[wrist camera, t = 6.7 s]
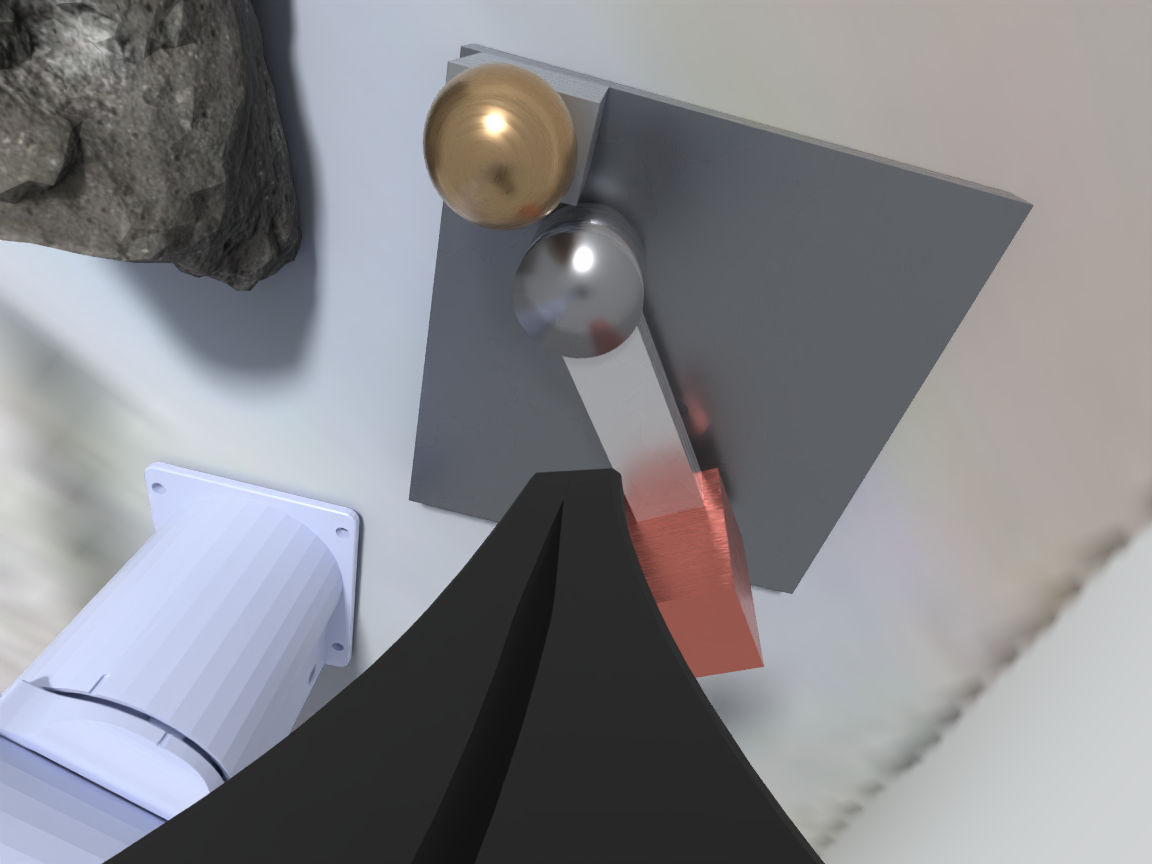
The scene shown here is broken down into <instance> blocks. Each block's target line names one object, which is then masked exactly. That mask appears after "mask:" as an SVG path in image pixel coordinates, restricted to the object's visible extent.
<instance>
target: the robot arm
mask: <svg viewBox="0 0 1152 864" xmlns="http://www.w3.org/2000/svg"><path fill="white" fill-rule="evenodd" d="M144 475H145V480H146V486H147V491H148V497H149V502H150V508H151V513H152V519H153V524H154V530H155V533H154V534H153V535H152V536H151V537H150V539H149V540H148V541H147V542H146V543H145V544H144V545H143V546H142V547H141V548H140V549H139V550H138V551H137V552H136V553H135V554H134V555H133V557H132V558H131V559H130V560H129V561H128V562H127V563H126V564H125V565H124V566H123V567H122V568H121V569H120V570H119V571H118V572H117V573H116V575H115V576H114V577H113V578H112V579H111V580H110V581H109V582H108V583H107V584H106V585H105V586H104V587H103V588H102V589H101V590H100V591H99V593H98V594H97V595H96V596H95V597H94V598H93V599H92V600H91V601H90V602H89V603H88V604H87V605H86V606H85V607H84V608H83V609H82V611H81V612H80V613H79V614H78V615H77V616H76V617H75V618H74V619H73V620H72V621H71V622H70V623H69V624H68V625H67V626H66V627H65V629H64V630H63V631H62V632H61V633H60V634H59V635H58V636H57V637H56V638H55V639H54V640H53V641H52V642H51V643H50V644H49V645H48V647H47V648H46V649H45V650H44V651H43V652H42V653H41V654H40V655H39V656H38V657H37V658H36V659H35V660H34V661H33V662H32V663H31V664H30V666H29V667H28V668H27V669H26V670H25V671H24V672H23V673H22V674H21V675H20V676H19V677H18V678H17V679H16V680H15V681H14V682H13V684H12V685H11V686H10V687H9V688H8V689H6V690H5V691H4V692H3V693H2V694H1V695H0V864H825V863H824V862H823V861H822V860H821V858H820V857H819V856H818V855H817V853H816V852H815V851H814V849H813V848H812V847H811V846H810V844H809V843H808V842H807V840H806V839H805V838H804V836H803V835H802V834H801V833H800V831H799V830H798V829H797V827H796V826H795V825H794V823H793V822H792V821H791V819H790V818H789V817H788V816H787V814H786V813H785V812H784V810H783V809H782V807H781V806H780V805H779V803H778V802H777V800H776V799H775V798H774V796H773V795H772V794H771V792H770V791H769V789H768V788H767V787H766V785H765V784H764V782H763V781H762V780H761V778H760V777H759V776H758V774H757V773H756V771H755V770H754V769H753V767H752V766H751V764H750V763H749V761H748V760H747V758H746V757H745V755H744V754H743V752H742V751H741V749H740V748H739V746H738V745H737V743H736V742H735V740H734V738H733V737H732V735H731V734H730V732H729V731H728V729H727V728H726V726H725V725H724V723H723V722H722V720H721V719H720V717H719V716H718V714H717V713H716V711H715V710H714V708H713V706H712V705H711V703H710V702H709V700H708V699H707V697H706V695H705V694H704V692H703V690H702V688H701V687H700V685H699V683H698V682H697V680H696V678H695V676H694V675H693V673H692V671H691V670H690V668H689V666H688V664H687V663H686V661H685V659H684V657H683V655H682V653H681V651H680V650H679V648H678V646H677V644H676V642H675V640H674V638H673V637H672V635H671V633H670V631H669V629H668V627H667V625H666V623H665V621H664V618H663V616H662V614H661V612H660V610H659V608H658V606H657V603H656V601H655V599H654V597H653V594H652V592H651V590H650V588H649V586H648V583H647V581H646V578H645V576H644V573H643V571H642V568H641V566H640V563H639V560H638V557H637V554H636V551H635V549H634V546H633V543H632V540H631V537H630V534H629V531H628V524H627V516H626V508H625V500H624V493H623V485H622V477H621V474H620V473H619V472H618V471H616V470H615V469H614V468H607V469H590V470H573V471H555V472H538V473H535V474H534V475H533V476H532V477H531V478H530V480H529V481H528V483H527V484H526V485H525V487H524V488H523V489H522V491H521V492H520V494H519V495H518V496H517V498H516V499H515V501H514V502H513V504H512V505H511V506H510V508H509V509H508V510H507V512H506V513H505V515H504V516H503V517H502V519H501V520H500V521H499V523H498V524H497V525H496V527H495V528H494V529H493V531H492V532H491V533H490V535H489V536H488V537H487V538H486V540H485V541H484V542H483V544H482V545H481V546H480V547H479V549H478V550H477V551H476V552H475V554H474V555H473V556H472V558H471V559H470V560H469V561H468V563H467V564H466V565H465V566H464V568H463V569H462V570H461V571H460V572H459V574H458V575H457V576H456V577H455V578H454V579H453V580H452V582H451V583H450V584H449V585H448V586H447V587H446V588H445V590H444V591H443V592H442V593H441V594H440V595H439V596H438V598H437V599H436V600H435V601H434V602H433V603H432V604H431V606H430V607H429V608H428V609H427V610H426V611H425V612H424V613H423V614H422V616H421V617H420V618H419V619H418V620H417V621H416V622H415V623H414V624H413V625H412V626H411V627H410V628H409V629H408V630H407V631H406V632H405V633H404V634H403V635H402V636H401V637H400V638H399V639H398V640H397V641H396V642H395V643H394V644H393V645H392V646H391V647H390V648H389V649H388V650H387V651H386V652H385V653H384V654H383V655H382V656H381V657H380V658H379V659H378V660H377V661H376V662H375V663H374V664H372V665H371V666H370V667H369V668H368V669H367V670H366V671H365V672H364V673H363V674H361V675H360V676H359V677H358V678H357V679H356V680H354V681H353V682H352V683H351V684H350V685H348V686H347V687H346V688H345V689H344V690H343V691H341V692H340V693H339V694H338V695H337V696H335V697H334V698H333V699H332V700H331V701H330V702H328V703H327V704H326V705H325V706H324V707H322V708H321V709H320V710H319V711H318V712H317V713H315V714H314V715H313V716H312V717H311V718H309V719H308V720H307V721H306V722H305V723H303V724H302V725H301V726H300V727H298V728H297V729H296V730H295V731H293V732H292V733H291V734H290V732H291V730H292V728H293V726H294V724H295V722H296V720H297V718H298V716H299V714H300V712H301V710H302V708H303V706H304V704H305V702H306V700H307V698H308V696H309V694H310V692H311V690H312V688H313V686H314V684H315V682H316V680H317V678H318V676H319V674H320V672H321V670H322V668H323V666H324V664H327V665H332V666H336V667H345V666H347V665H348V663H349V661H350V659H351V653H352V637H353V620H354V603H355V587H356V570H357V554H358V537H359V516H358V515H357V513H356V512H355V511H353V510H352V509H349V508H346V507H342V506H338V505H334V504H330V503H326V502H322V501H318V500H314V499H309V498H305V497H301V496H297V495H293V494H289V493H285V492H281V491H277V490H272V489H268V488H264V487H260V486H256V485H252V484H248V483H244V482H240V481H236V480H231V479H227V478H223V477H219V476H215V475H211V474H207V473H203V472H199V471H194V470H190V469H186V468H182V467H178V466H174V465H170V464H166V463H162V462H154V463H152V464H151V465H150V466H149V467H148V468H147V469H146V470H145V473H144ZM342 528H344V529H346V530H347V531H345V530H343V529H342Z"/></svg>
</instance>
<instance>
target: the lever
mask: <svg viewBox="0 0 1152 864" xmlns="http://www.w3.org/2000/svg"><path fill="white" fill-rule="evenodd" d="M644 274H645V254H644V248H643V244H642V241H641V239H640V236H639V234H638V233H637V231H636V229H635V228H634V226H633V225H632V224H631V223H630V221H628V220H627V219H626V218H625V217H624V216H623V215H622V214H620V213H619V212H617V211H616V210H614V209H612V208H610V207H607V206H605V205H601V204H597V203H577V205H576V206H573V205H568V206H565V207H563V208H561V209H559V210H557V211H556V212H554V213H553V214H551V215H550V216H549V217H548V218H547V219H546V220H545V221H544V222H543V223H542V224H541V226H540V227H539V229H538V230H537V232H536V234H535V236H534V238H533V240H532V242H531V244H530V246H529V248H528V250H527V252H526V253H525V255H524V257H523V259H522V261H521V263H520V265H519V267H518V269H517V272H516V274H515V278H514V282H513V288H512V298H513V305H514V309H515V313H516V315H517V318H518V320H519V322H520V324H521V326H522V327H523V329H524V330H525V331H526V333H527V334H528V335H529V336H530V337H531V338H532V339H533V340H534V341H535V342H536V343H537V344H539V345H540V346H542V347H543V348H545V349H546V350H548V351H550V352H552V353H555V354H557V355H560V356H563V359H564V361H565V363H566V365H567V367H568V370H569V372H570V374H571V376H572V379H573V381H574V383H575V385H576V387H577V390H578V392H579V394H580V396H581V399H582V401H583V403H584V405H585V407H586V410H587V412H588V414H589V416H590V419H591V421H592V423H593V425H594V427H595V430H596V432H597V434H598V436H599V439H600V441H601V443H602V445H603V447H604V450H605V452H606V454H607V456H608V459H609V461H610V463H611V465H612V468H614V469H615V470H616V471H618V472H619V473H620V474H621V477H622V485H623V493H624V500H625V508H626V516H627V524H628V531H629V534H630V537H631V540H632V543H633V546H634V549H635V551H636V554H637V557H638V560H639V563H640V566H641V568H642V571H643V573H644V576H645V578H646V581H647V583H648V586H649V588H650V590H651V592H652V594H653V597H654V599H655V601H656V603H657V606H658V608H659V610H660V612H661V614H662V616H663V618H664V621H665V623H666V625H667V627H668V629H669V631H670V633H671V635H672V637H673V638H674V640H675V642H676V644H677V646H678V648H679V650H680V651H681V653H682V655H683V657H684V659H685V661H686V663H687V664H688V666H689V668H690V670H691V671H692V673H693V675H694V676H695V678H696V677H702V676H708V675H715V674H721V673H727V672H733V671H740V670H746V669H752V668H758V667H764V664H763V658H762V652H761V646H760V640H759V634H758V628H757V622H756V616H755V610H754V604H753V598H752V592H751V586H750V580H749V574H748V568H747V562H746V555H745V549H744V543H743V539H742V536H741V533H740V530H739V527H738V524H737V521H736V519H735V516H734V513H733V510H732V507H731V504H730V501H729V499H728V496H727V493H726V490H725V487H724V484H723V481H722V478H721V476H720V473H719V470H718V468H714V469H710V470H706V471H702V472H701V469H700V467H699V464H698V461H697V459H696V456H695V453H694V450H693V448H692V445H691V442H690V439H689V437H688V434H687V431H686V429H685V426H684V423H683V420H682V418H681V415H680V412H679V409H678V407H677V404H676V401H675V399H674V396H673V393H672V390H671V388H670V385H669V382H668V379H667V377H666V374H665V371H664V368H663V366H662V363H661V360H660V358H659V355H658V352H657V349H656V347H655V344H654V341H653V338H652V336H651V333H650V330H649V328H648V325H647V322H646V319H645V317H644V314H643V311H642V309H643V301H644Z"/></svg>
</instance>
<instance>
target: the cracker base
mask: <svg viewBox="0 0 1152 864" xmlns="http://www.w3.org/2000/svg"><path fill="white" fill-rule="evenodd" d="M423 151H424V159H425V163H426V168H427V171H428V174H429V177H430V179H431V181H432V183H433V186H434V187H435V189H436V191H437V192H438V194H439V195H440V197H441V198H442V199H443V208H442V217H441V225H440V234H439V243H438V251H437V260H436V269H435V277H434V286H433V295H432V303H431V312H430V321H429V329H428V338H427V347H426V355H425V364H424V373H423V381H422V390H421V399H420V408H419V416H418V425H417V434H416V442H415V451H414V460H413V468H412V477H411V486H410V494H409V500H411V501H415V502H419V503H423V504H427V505H431V506H435V507H439V508H443V509H447V510H451V511H455V512H459V513H464V514H468V515H472V516H476V517H480V518H484V519H488V520H492V521H496V522H499V521H500V520H501V519H502V517H503V516H504V515H505V513H506V512H507V510H508V509H509V508H510V506H511V505H512V504H513V502H514V501H515V499H516V498H517V496H518V495H519V494H520V492H521V491H522V489H523V488H524V487H525V485H526V484H527V483H528V481H529V480H530V478H531V477H532V476H533V475H534V474H535V473H538V472H555V471H573V470H590V469H607V468H612V465H611V463H610V461H609V459H608V456H607V454H606V452H605V450H604V447H603V445H602V443H601V441H600V439H599V436H598V434H597V432H596V430H595V427H594V425H593V423H592V421H591V419H590V416H589V414H588V412H587V410H586V407H585V405H584V403H583V401H582V399H581V396H580V394H579V392H578V390H577V387H576V385H575V383H574V381H573V379H572V376H571V374H570V372H569V370H568V367H567V365H566V363H565V361H564V359H563V356H560V355H557V354H555V353H552V352H550V351H548V350H546V349H545V348H543V347H542V346H540V345H539V344H537V343H536V342H535V341H534V340H533V339H532V338H531V337H530V336H529V335H528V334H527V333H526V331H525V330H524V329H523V327H522V326H521V324H520V322H519V320H518V318H517V315H516V313H515V309H514V305H513V298H512V288H513V282H514V278H515V274H516V272H517V269H518V267H519V265H520V263H521V261H522V259H523V257H524V255H525V253H526V252H527V250H528V248H529V246H530V244H531V242H532V240H533V238H534V236H535V234H536V232H537V230H538V229H539V227H540V226H541V224H542V223H543V222H544V221H545V220H546V219H547V218H548V217H549V216H550V215H551V214H553V213H554V212H556V211H557V210H559V209H561V208H563V207H565V206H568V205H573V206H576V205H577V203H597V204H601V205H605V206H607V207H610V208H612V209H614V210H616V211H617V212H619V213H620V214H622V215H623V216H624V217H625V218H626V219H627V220H628V221H630V223H631V224H632V225H633V226H634V228H635V229H636V231H637V233H638V234H639V236H640V239H641V241H642V244H643V248H644V254H645V274H644V301H643V309H642V311H643V314H644V317H645V319H646V322H647V325H648V328H649V330H650V333H651V336H652V338H653V341H654V344H655V347H656V349H657V352H658V355H659V358H660V360H661V363H662V366H663V368H664V371H665V374H666V377H667V379H668V382H669V385H670V388H671V390H672V393H673V396H674V399H675V401H676V404H677V407H678V409H679V412H680V415H681V418H682V420H683V423H684V426H685V429H686V431H687V434H688V437H689V439H690V442H691V445H692V448H693V450H694V453H695V456H696V459H697V461H698V464H699V467H700V469H701V472H702V471H706V470H710V469H714V468H718V470H719V473H720V476H721V478H722V481H723V484H724V487H725V490H726V493H727V496H728V499H729V501H730V504H731V507H732V510H733V513H734V516H735V519H736V521H737V524H738V527H739V530H740V533H741V536H742V539H743V543H744V549H745V555H746V562H747V568H748V574H749V580H750V584H753V585H757V586H761V587H766V588H770V589H774V590H778V591H782V592H786V593H790V594H793V592H794V590H795V589H796V587H797V586H798V584H799V582H800V581H801V579H802V577H803V576H804V574H805V573H806V571H807V569H808V568H809V566H810V565H811V563H812V561H813V560H814V558H815V557H816V555H817V553H818V552H819V550H820V549H821V547H822V545H823V544H824V542H825V540H826V539H827V537H828V536H829V534H830V532H831V531H832V529H833V528H834V526H835V524H836V523H837V521H838V520H839V518H840V516H841V515H842V513H843V511H844V510H845V508H846V507H847V505H848V503H849V502H850V500H851V499H852V497H853V495H854V494H855V492H856V491H857V489H858V487H859V486H860V484H861V482H862V481H863V479H864V478H865V476H866V474H867V473H868V471H869V470H870V468H871V466H872V465H873V463H874V462H875V460H876V458H877V457H878V455H879V453H880V452H881V450H882V449H883V447H884V445H885V444H886V442H887V441H888V439H889V437H890V436H891V434H892V433H893V431H894V429H895V428H896V426H897V425H898V423H899V421H900V420H901V418H902V416H903V415H904V413H905V412H906V410H907V408H908V407H909V405H910V404H911V402H912V400H913V399H914V397H915V396H916V394H917V392H918V391H919V389H920V387H921V386H922V384H923V383H924V381H925V379H926V378H927V376H928V375H929V373H930V371H931V370H932V368H933V367H934V365H935V363H936V362H937V360H938V358H939V357H940V355H941V354H942V352H943V350H944V349H945V347H946V346H947V344H948V342H949V341H950V339H951V338H952V336H953V334H954V333H955V331H956V329H957V328H958V326H959V325H960V323H961V321H962V320H963V318H964V317H965V315H966V313H967V312H968V310H969V309H970V307H971V305H972V304H973V302H974V300H975V299H976V297H977V296H978V294H979V292H980V291H981V289H982V288H983V286H984V284H985V283H986V281H987V280H988V278H989V276H990V275H991V273H992V272H993V270H994V268H995V267H996V265H997V263H998V262H999V260H1000V259H1001V257H1002V255H1003V254H1004V252H1005V251H1006V249H1007V247H1008V246H1009V244H1010V243H1011V241H1012V239H1013V238H1014V236H1015V234H1016V233H1017V231H1018V230H1019V228H1020V226H1021V225H1022V223H1023V222H1024V220H1025V218H1026V217H1027V215H1028V214H1029V212H1030V210H1031V209H1032V207H1033V205H1032V204H1031V203H1029V202H1027V201H1025V200H1023V199H1021V198H1019V197H1017V196H1015V195H1014V194H1012V193H1009V192H1005V191H1002V190H998V189H994V188H991V187H987V186H984V185H980V184H976V183H973V182H969V181H966V180H962V179H958V178H955V177H951V176H948V175H944V174H940V173H937V172H933V171H930V170H926V169H922V168H919V167H915V166H912V165H908V164H905V163H901V162H897V161H894V160H890V159H887V158H883V157H879V156H876V155H872V154H869V153H865V152H861V151H858V150H854V149H851V148H847V147H843V146H840V145H836V144H833V143H829V142H825V141H822V140H818V139H815V138H811V137H807V136H804V135H800V134H797V133H793V132H789V131H786V130H782V129H779V128H775V127H771V126H768V125H764V124H761V123H757V122H754V121H750V120H746V119H743V118H739V117H736V116H732V115H728V114H725V113H721V112H718V111H714V110H710V109H707V108H703V107H700V106H696V105H692V104H689V103H685V102H682V101H678V100H674V99H671V98H667V97H664V96H660V95H656V94H653V93H649V92H646V91H642V90H638V89H635V88H631V87H628V86H624V85H620V84H617V83H613V82H610V81H606V80H603V79H599V78H595V77H592V76H588V75H585V74H581V73H577V72H574V71H570V70H567V69H563V68H559V67H556V66H552V65H549V64H545V63H541V62H538V61H534V60H531V59H527V58H523V57H520V56H516V55H513V54H509V53H505V52H502V51H498V50H495V49H491V48H487V47H484V46H480V45H477V44H469V45H464V46H461V52H460V58H459V59H456V60H452V61H448V66H447V76H446V84H445V86H444V87H443V88H442V89H441V90H440V92H439V93H438V94H437V96H436V98H435V99H434V101H433V103H432V105H431V107H430V110H429V112H428V115H427V118H426V121H425V126H424V132H423Z"/></svg>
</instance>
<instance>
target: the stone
mask: <svg viewBox="0 0 1152 864" xmlns="http://www.w3.org/2000/svg"><path fill="white" fill-rule="evenodd" d="M301 238H302V235H301V230H300V224H299V212H298V202H297V197H296V192H295V188H294V183H293V179H292V173H291V166H290V160H289V153H288V148H287V144H286V140H285V135H284V131H283V127H282V123H281V119H280V115H279V111H278V107H277V100H276V94H275V89H274V87H273V84H272V82H271V79H270V76H269V73H268V70H267V67H266V63H265V60H264V57H263V40H262V35H261V30H260V25H259V22H258V20H257V17H256V14H255V12H254V9H253V7H252V4H251V1H250V0H0V239H1V240H6V241H16V242H26V243H33V244H38V245H42V246H47V247H52V248H56V249H61V250H65V251H69V252H73V253H78V254H83V255H88V256H93V257H100V258H107V259H113V260H120V261H127V262H135V263H174V264H175V265H176V267H177V268H178V269H179V270H180V271H181V272H184V273H187V274H190V275H193V276H196V277H203V276H209V277H212V278H214V279H217V280H219V281H222V282H224V283H227V284H228V285H230V286H231V287H232V288H234V289H235V290H237V291H250V290H251V289H252V288H253V287H254V286H255V285H256V283H257V282H258V281H259V280H262V279H265V278H267V277H269V276H271V275H273V274H275V273H277V272H278V271H279V270H280V269H281V268H282V267H283V266H284V265H285V264H287V263H289V262H291V261H294V260H295V257H296V255H297V252H298V249H299V246H300V242H301Z"/></svg>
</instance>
